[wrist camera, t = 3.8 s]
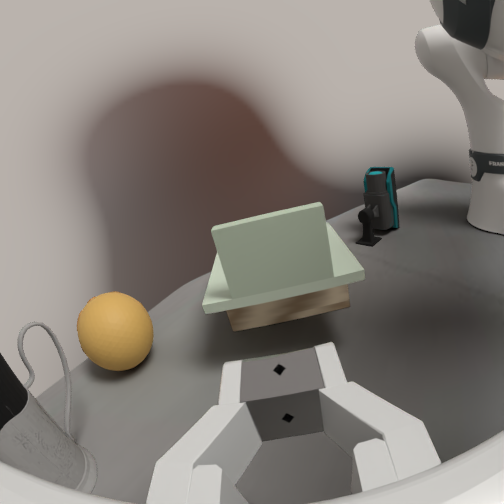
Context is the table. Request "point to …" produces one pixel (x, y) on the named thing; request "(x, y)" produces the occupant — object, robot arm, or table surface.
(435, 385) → the table surface
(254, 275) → the lid
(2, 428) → the glass holder
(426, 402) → the table surface
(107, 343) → the stress ball
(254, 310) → the wooden box
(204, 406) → the table surface
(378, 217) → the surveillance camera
